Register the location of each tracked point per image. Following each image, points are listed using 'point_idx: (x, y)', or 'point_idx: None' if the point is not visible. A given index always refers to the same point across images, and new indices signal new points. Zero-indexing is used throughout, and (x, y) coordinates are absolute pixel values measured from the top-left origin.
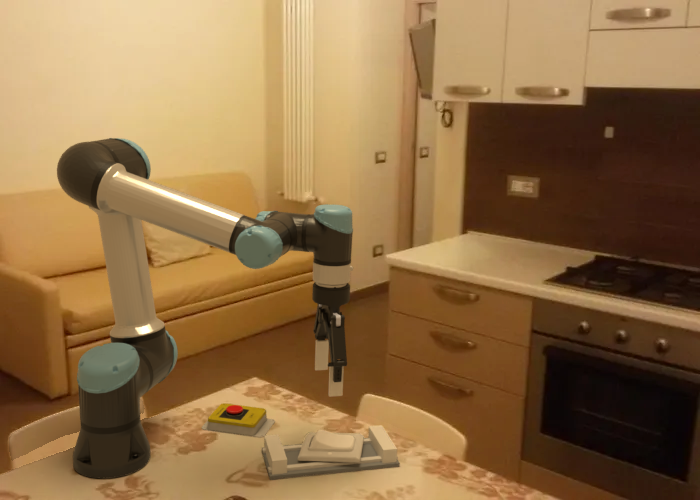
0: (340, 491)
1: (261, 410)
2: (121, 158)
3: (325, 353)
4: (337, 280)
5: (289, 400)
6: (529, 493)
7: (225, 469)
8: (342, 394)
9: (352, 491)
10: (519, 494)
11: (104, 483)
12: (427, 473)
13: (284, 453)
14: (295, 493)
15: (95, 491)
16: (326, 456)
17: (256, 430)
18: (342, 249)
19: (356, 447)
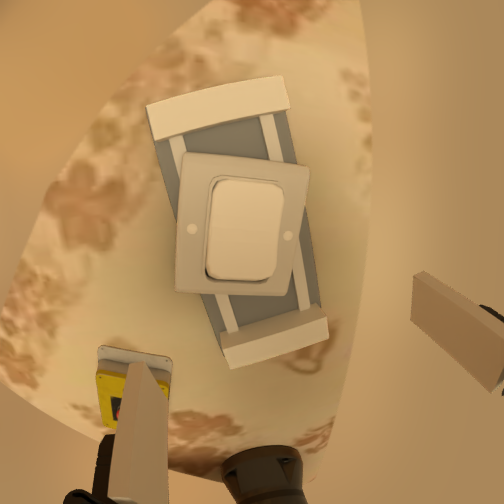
0: (362, 204)
1: (105, 380)
2: None
3: (143, 438)
4: None
5: (20, 324)
6: None
7: (285, 382)
8: (427, 273)
9: (363, 183)
10: None
11: (307, 453)
12: (298, 33)
13: (303, 325)
14: (361, 277)
15: (320, 451)
16: (297, 241)
17: (158, 372)
18: None
19: (264, 172)
